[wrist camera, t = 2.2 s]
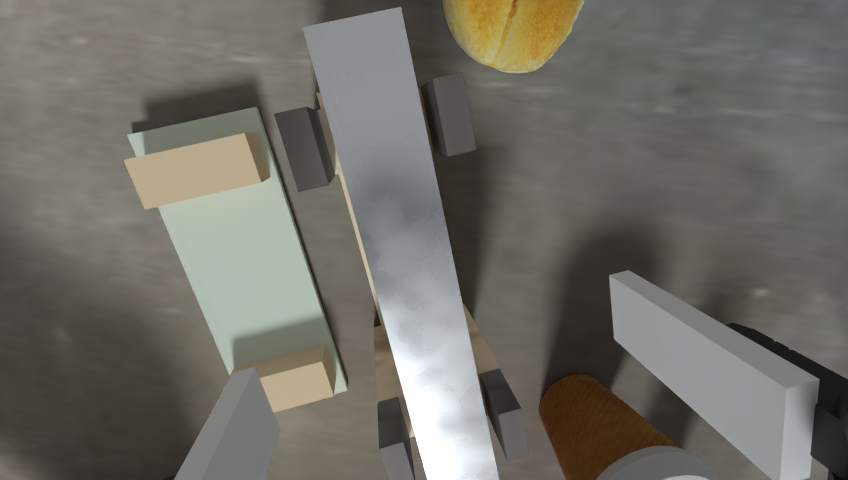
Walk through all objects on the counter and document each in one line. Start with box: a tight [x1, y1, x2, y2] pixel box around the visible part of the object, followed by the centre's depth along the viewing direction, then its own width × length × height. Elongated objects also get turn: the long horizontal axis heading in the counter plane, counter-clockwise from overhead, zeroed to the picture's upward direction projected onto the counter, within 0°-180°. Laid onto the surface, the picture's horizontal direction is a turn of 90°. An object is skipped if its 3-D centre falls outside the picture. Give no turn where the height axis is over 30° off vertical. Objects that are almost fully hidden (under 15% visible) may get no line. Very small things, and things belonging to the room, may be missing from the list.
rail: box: [302, 7, 499, 480], centre depth 19 cm, size 4×24×4 cm, turn 12°
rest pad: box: [124, 107, 348, 413], centre depth 28 cm, size 8×22×3 cm, turn 12°
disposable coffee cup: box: [539, 374, 718, 480], centre depth 31 cm, size 10×10×12 cm
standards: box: [274, 72, 529, 480], centre depth 24 cm, size 7×22×12 cm, turn 12°
